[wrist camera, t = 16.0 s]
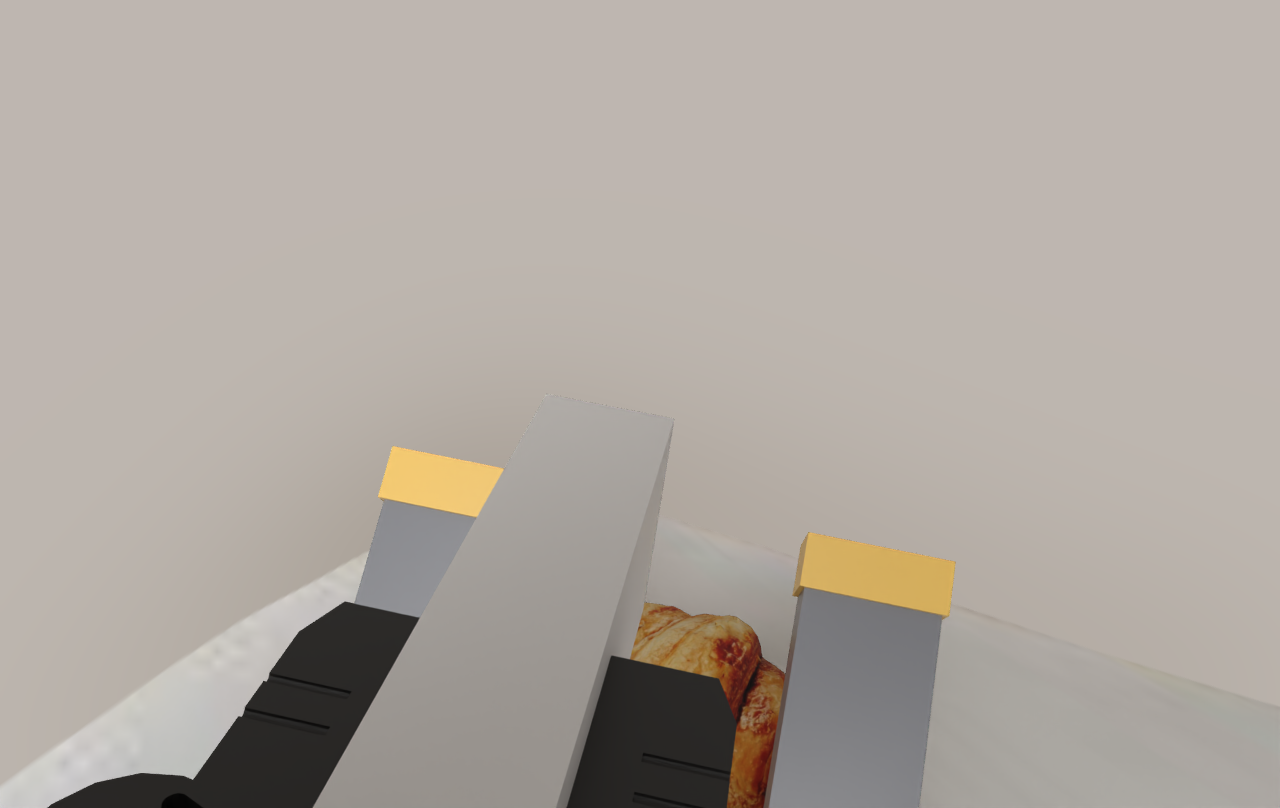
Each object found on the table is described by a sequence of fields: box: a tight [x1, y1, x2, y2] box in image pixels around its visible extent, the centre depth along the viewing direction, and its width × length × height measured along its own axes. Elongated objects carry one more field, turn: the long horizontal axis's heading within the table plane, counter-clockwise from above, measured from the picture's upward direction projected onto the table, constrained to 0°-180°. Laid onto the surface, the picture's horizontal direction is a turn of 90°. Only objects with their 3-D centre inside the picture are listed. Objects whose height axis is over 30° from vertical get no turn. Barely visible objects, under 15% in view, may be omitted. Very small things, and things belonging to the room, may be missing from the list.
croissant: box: [630, 602, 785, 808], centre depth 50 cm, size 21×10×8 cm, turn 52°
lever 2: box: [764, 532, 955, 808], centre depth 38 cm, size 2×6×15 cm
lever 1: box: [354, 446, 504, 618], centre depth 39 cm, size 2×6×15 cm
